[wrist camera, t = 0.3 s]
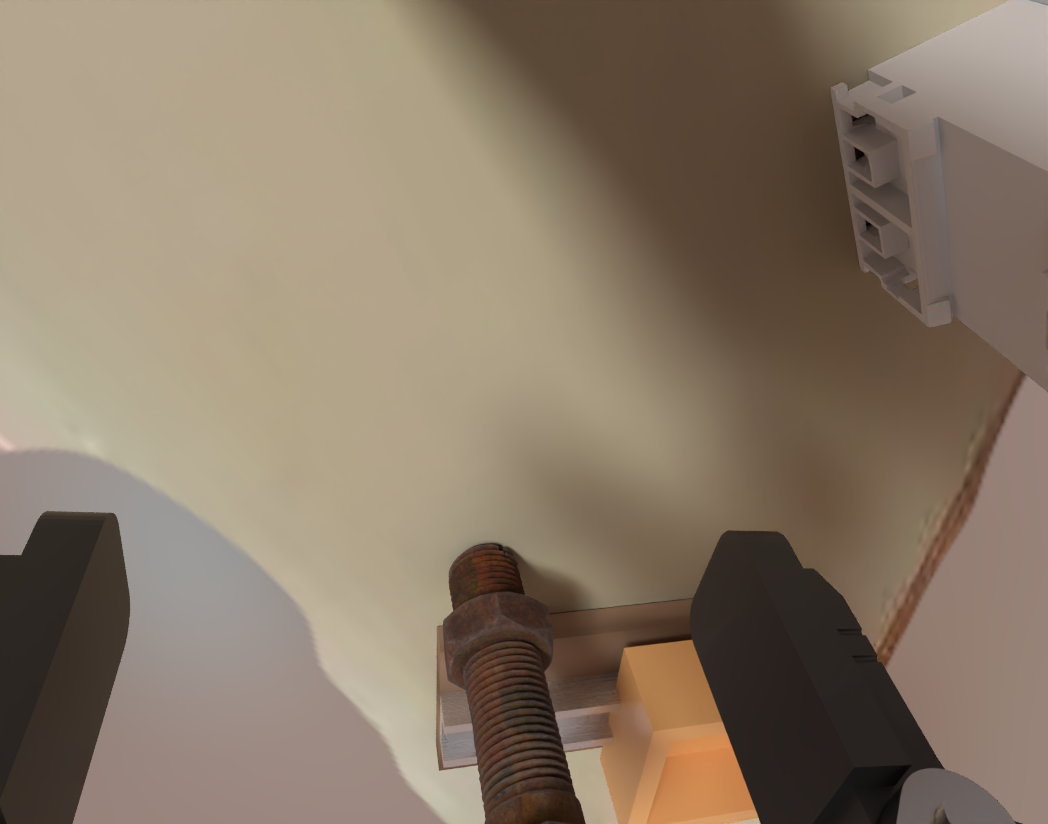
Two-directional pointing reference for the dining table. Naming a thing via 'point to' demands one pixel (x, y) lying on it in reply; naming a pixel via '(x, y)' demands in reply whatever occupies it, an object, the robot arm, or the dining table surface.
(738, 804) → the orange open box
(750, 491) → the dining table surface
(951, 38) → the circuit breaker
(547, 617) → the bolt
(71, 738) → the robot arm
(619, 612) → the rail board
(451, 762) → the rail
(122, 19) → the dining table surface
